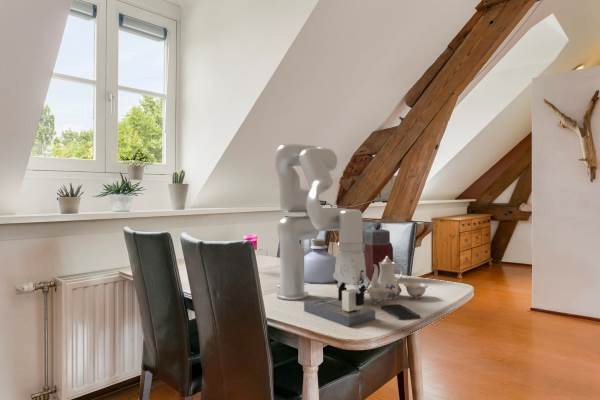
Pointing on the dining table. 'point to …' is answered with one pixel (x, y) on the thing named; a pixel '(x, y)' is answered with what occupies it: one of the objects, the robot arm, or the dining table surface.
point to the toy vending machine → (376, 248)
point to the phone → (400, 312)
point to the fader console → (338, 312)
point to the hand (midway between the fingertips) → (350, 302)
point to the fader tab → (349, 300)
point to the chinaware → (390, 284)
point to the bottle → (319, 264)
